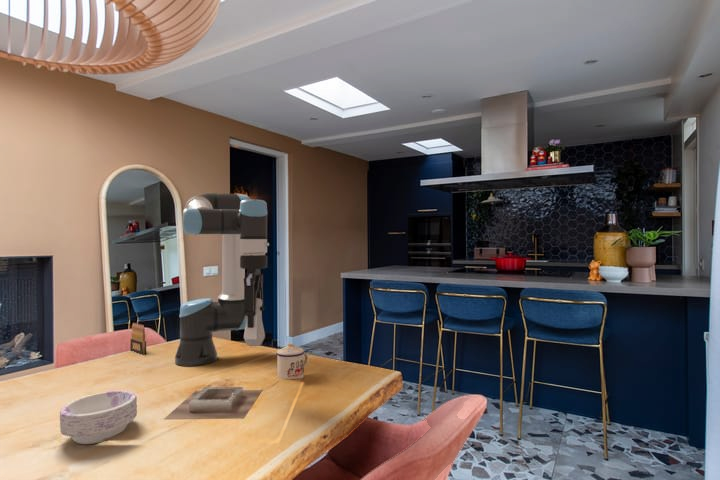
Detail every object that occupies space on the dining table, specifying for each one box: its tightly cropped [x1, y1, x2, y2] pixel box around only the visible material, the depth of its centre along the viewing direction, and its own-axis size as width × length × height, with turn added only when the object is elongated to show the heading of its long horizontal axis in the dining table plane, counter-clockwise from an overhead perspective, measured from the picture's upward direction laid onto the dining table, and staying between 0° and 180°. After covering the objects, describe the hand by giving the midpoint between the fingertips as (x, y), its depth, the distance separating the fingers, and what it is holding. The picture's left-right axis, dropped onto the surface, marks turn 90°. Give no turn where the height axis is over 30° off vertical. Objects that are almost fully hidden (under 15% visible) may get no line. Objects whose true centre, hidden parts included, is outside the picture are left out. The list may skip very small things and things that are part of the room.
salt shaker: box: [243, 298, 266, 347], centre depth 116 cm, size 6×6×13 cm
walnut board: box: [163, 389, 263, 420], centre depth 112 cm, size 20×20×1 cm
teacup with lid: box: [276, 342, 309, 380], centre depth 137 cm, size 12×9×12 cm
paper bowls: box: [59, 390, 138, 445], centre depth 96 cm, size 15×15×8 cm
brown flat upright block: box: [129, 322, 147, 355], centre depth 172 cm, size 11×2×12 cm, turn 52°
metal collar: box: [189, 386, 244, 412], centre depth 112 cm, size 11×11×2 cm
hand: (254, 336), depth 116 cm, fingers closed on salt shaker, 6 cm apart
